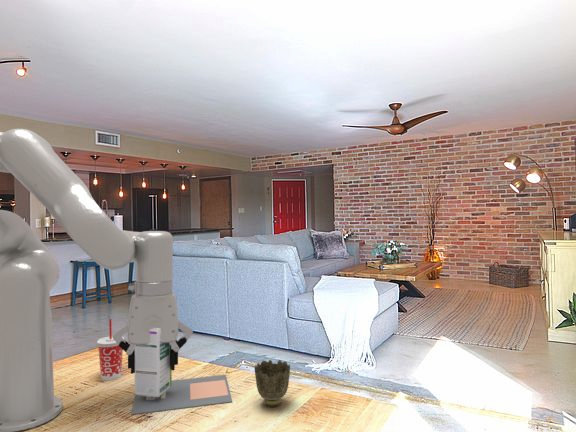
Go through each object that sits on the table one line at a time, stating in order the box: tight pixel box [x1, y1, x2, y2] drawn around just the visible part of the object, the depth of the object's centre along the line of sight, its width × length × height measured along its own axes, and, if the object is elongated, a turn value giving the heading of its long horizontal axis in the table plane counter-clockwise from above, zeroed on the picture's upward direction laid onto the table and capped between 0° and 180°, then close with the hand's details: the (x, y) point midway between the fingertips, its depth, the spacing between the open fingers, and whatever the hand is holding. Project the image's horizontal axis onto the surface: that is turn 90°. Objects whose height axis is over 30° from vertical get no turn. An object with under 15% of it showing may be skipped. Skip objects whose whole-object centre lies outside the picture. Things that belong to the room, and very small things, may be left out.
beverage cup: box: [96, 318, 125, 381], centre depth 99 cm, size 6×6×14 cm
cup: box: [253, 359, 291, 408], centre depth 85 cm, size 8×7×8 cm
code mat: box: [130, 374, 233, 416], centre depth 90 cm, size 20×14×1 cm
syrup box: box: [134, 328, 173, 397], centre depth 88 cm, size 6×6×14 cm
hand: (153, 369), depth 88 cm, fingers closed on syrup box, 7 cm apart
